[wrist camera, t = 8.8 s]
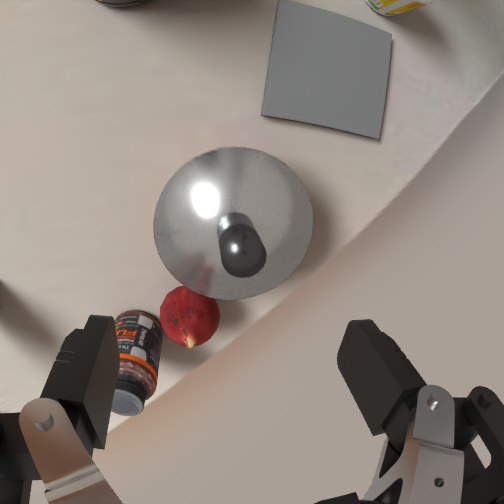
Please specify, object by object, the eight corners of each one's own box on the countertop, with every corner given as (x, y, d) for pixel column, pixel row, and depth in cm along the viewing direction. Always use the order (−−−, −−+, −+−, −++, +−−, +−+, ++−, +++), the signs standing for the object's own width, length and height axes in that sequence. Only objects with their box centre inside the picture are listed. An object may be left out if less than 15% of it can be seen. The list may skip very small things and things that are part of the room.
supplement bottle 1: (140, 298, 32) (121, 373, 22) (173, 334, 34) (169, 411, 24) (103, 322, 32) (78, 394, 22) (136, 354, 35) (124, 428, 25)
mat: (277, 2, 22) (280, -2, 21) (386, 35, 24) (391, 34, 23) (260, 115, 26) (263, 114, 25) (374, 138, 29) (378, 139, 28)
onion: (152, 291, 32) (142, 339, 25) (193, 261, 31) (193, 305, 24) (187, 325, 34) (186, 376, 27) (227, 299, 34) (236, 347, 26)
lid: (160, 140, 21) (146, 146, 15) (321, 158, 23) (356, 171, 18) (154, 289, 26) (145, 333, 20) (293, 295, 28) (314, 336, 23)
